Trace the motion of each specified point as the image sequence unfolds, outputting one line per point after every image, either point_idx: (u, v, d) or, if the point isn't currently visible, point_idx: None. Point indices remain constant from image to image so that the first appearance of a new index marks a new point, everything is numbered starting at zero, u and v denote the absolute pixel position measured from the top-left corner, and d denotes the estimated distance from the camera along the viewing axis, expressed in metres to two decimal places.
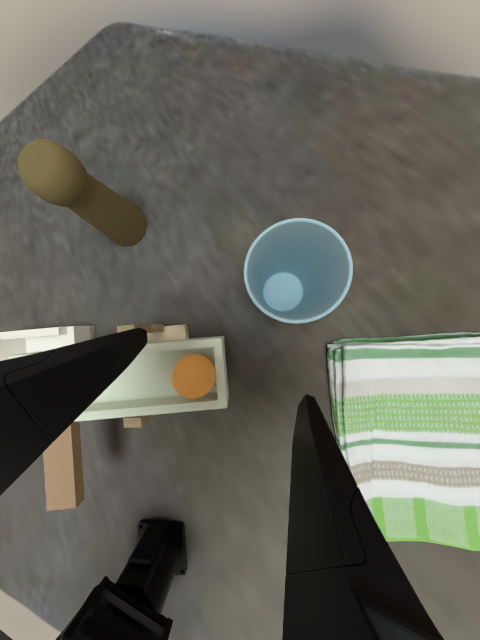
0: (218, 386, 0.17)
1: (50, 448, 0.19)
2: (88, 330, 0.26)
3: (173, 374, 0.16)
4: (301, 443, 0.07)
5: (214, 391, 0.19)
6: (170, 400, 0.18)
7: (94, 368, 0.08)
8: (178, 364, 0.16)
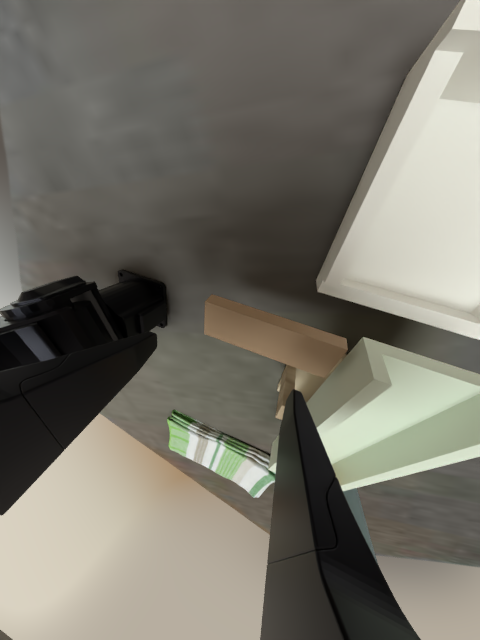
0: None
1: (296, 342, 0.11)
2: None
3: None
4: (286, 436, 0.07)
5: None
6: None
7: (106, 374, 0.08)
8: None
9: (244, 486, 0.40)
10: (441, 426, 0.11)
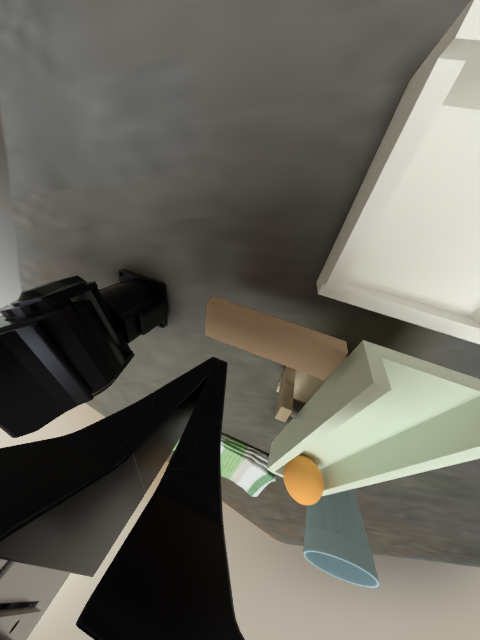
0: None
1: (297, 344, 0.11)
2: None
3: (313, 492, 0.17)
4: None
5: None
6: None
7: (186, 410, 0.07)
8: (320, 495, 0.18)
9: (242, 485, 0.41)
10: (439, 429, 0.11)
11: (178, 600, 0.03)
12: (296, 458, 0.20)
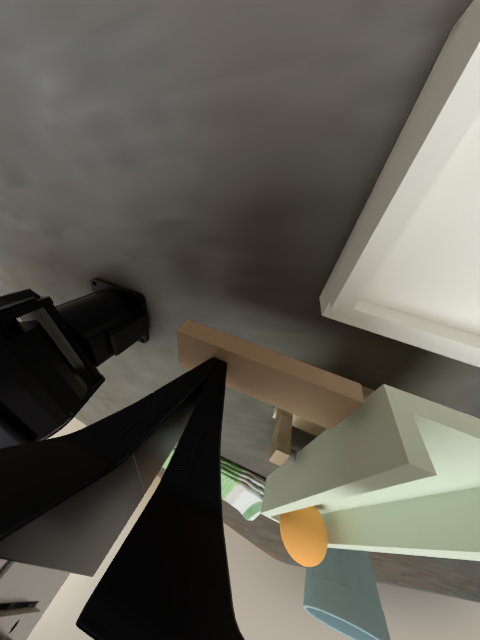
0: None
1: (295, 387, 0.09)
2: None
3: (316, 552, 0.14)
4: None
5: None
6: None
7: (186, 410, 0.07)
8: (323, 554, 0.15)
9: (237, 507, 0.38)
10: None
11: (178, 599, 0.03)
12: None
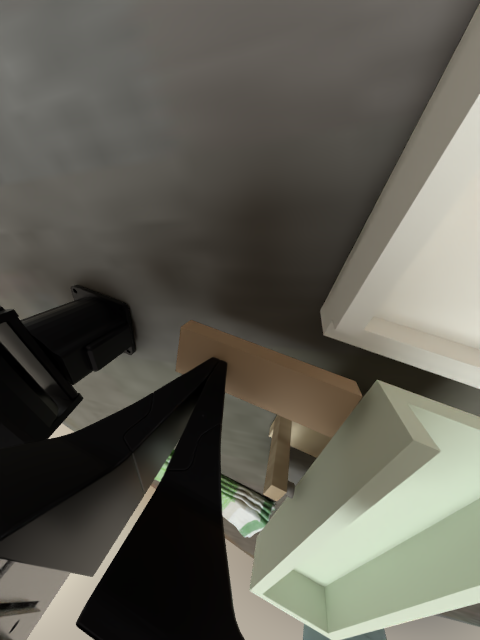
0: (277, 603, 0.14)
1: (295, 384, 0.09)
2: None
3: None
4: None
5: None
6: None
7: (186, 410, 0.07)
8: None
9: (234, 523, 0.36)
10: None
11: (179, 600, 0.03)
12: None
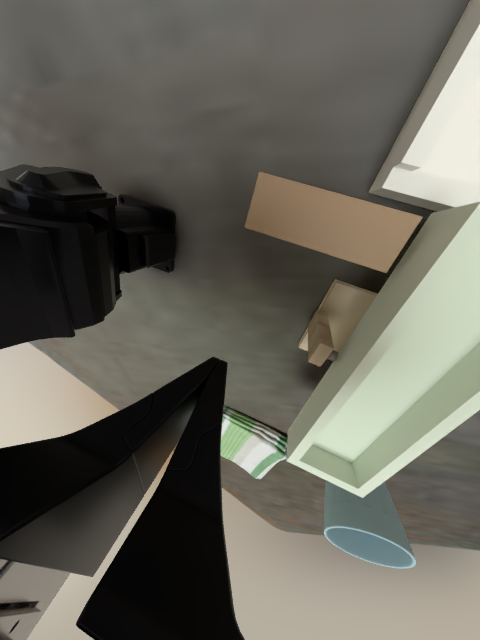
0: (312, 467, 0.15)
1: (361, 216, 0.10)
2: None
3: None
4: None
5: None
6: None
7: (186, 410, 0.07)
8: None
9: (246, 467, 0.38)
10: None
11: (178, 601, 0.03)
12: None
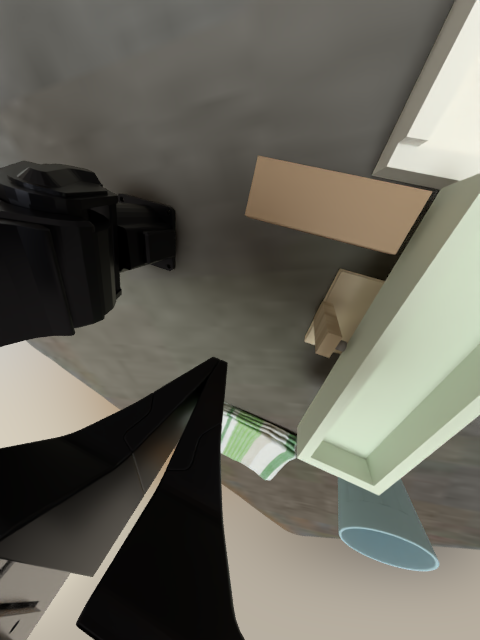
0: (325, 464, 0.15)
1: (367, 196, 0.10)
2: None
3: None
4: None
5: None
6: None
7: (186, 410, 0.07)
8: None
9: (254, 468, 0.37)
10: None
11: (179, 600, 0.03)
12: None
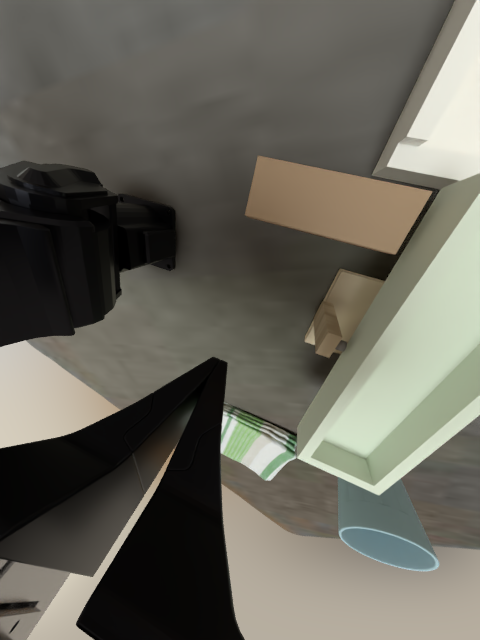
0: (325, 464, 0.15)
1: (367, 196, 0.10)
2: None
3: None
4: None
5: None
6: None
7: (186, 410, 0.07)
8: None
9: (254, 468, 0.37)
10: None
11: (178, 601, 0.03)
12: None
